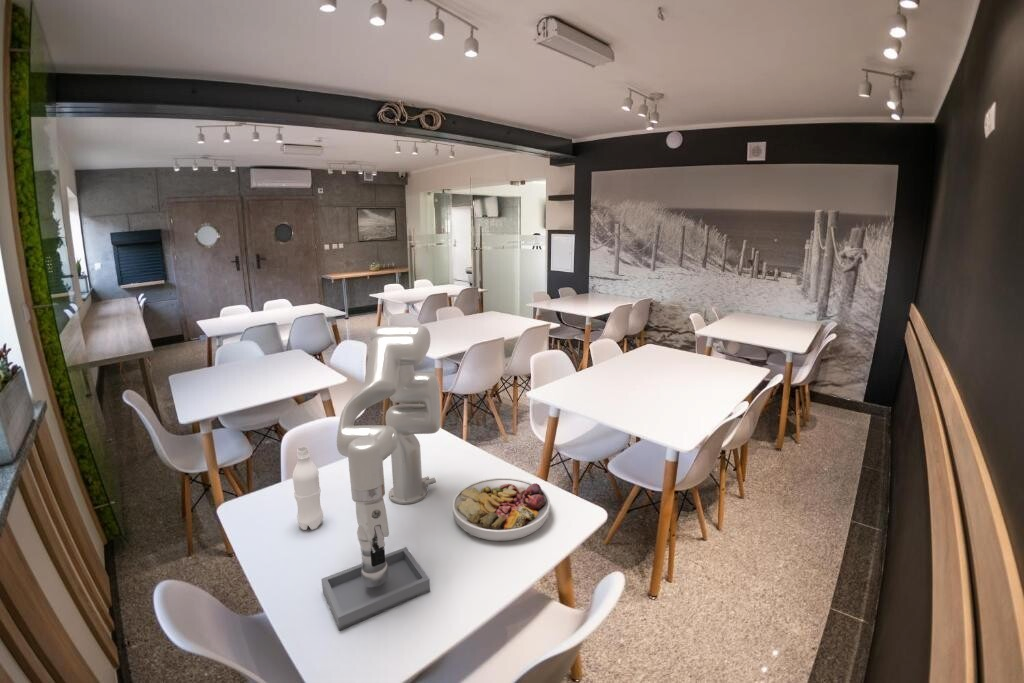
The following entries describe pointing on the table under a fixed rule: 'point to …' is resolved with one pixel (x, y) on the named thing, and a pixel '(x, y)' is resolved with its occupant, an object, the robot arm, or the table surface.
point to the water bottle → (307, 491)
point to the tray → (374, 589)
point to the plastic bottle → (370, 574)
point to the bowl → (501, 508)
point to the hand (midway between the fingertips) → (373, 555)
